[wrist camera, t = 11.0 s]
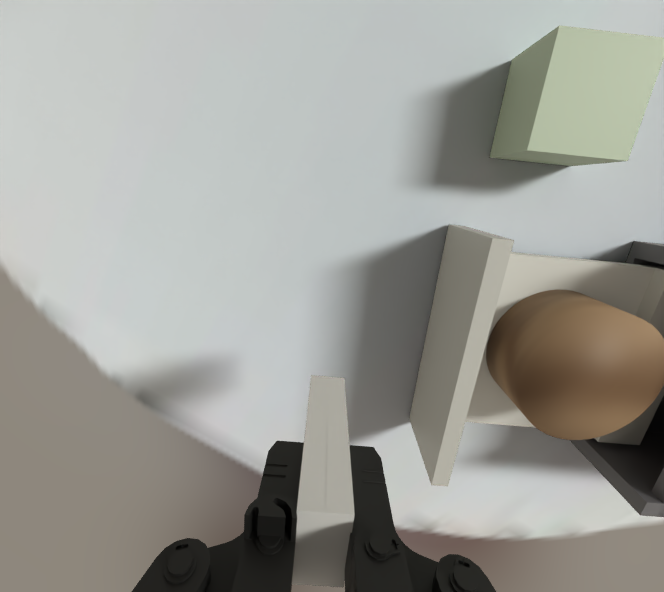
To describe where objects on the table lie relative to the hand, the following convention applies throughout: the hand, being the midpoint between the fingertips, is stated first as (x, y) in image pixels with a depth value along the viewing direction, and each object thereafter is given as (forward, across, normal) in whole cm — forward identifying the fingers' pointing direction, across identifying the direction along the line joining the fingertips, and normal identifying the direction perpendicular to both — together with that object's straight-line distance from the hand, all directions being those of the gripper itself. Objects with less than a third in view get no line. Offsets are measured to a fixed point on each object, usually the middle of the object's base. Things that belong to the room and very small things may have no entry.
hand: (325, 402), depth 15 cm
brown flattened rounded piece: (+7, +15, +1) cm, 16 cm away
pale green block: (+8, +11, +15) cm, 20 cm away
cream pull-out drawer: (+8, +15, +1) cm, 17 cm away
